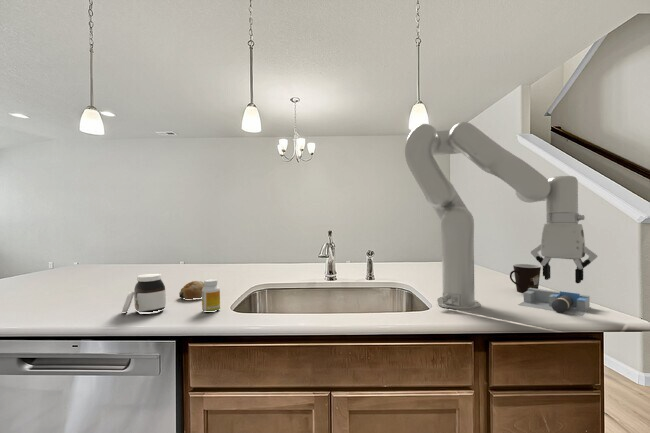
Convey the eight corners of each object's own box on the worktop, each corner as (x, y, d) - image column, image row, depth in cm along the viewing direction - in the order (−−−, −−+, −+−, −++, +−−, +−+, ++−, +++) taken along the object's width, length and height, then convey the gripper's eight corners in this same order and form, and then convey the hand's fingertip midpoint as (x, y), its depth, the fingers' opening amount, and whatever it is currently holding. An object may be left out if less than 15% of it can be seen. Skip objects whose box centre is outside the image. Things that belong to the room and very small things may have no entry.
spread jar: (169, 312, 108) (168, 275, 108) (130, 320, 99) (129, 280, 99) (154, 305, 116) (153, 271, 116) (116, 313, 108) (115, 276, 107)
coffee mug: (533, 290, 128) (533, 264, 128) (546, 296, 120) (545, 267, 119) (501, 290, 129) (500, 264, 129) (511, 296, 121) (510, 267, 121)
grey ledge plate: (582, 317, 95) (581, 300, 95) (517, 306, 107) (517, 291, 107) (591, 309, 103) (590, 293, 103) (530, 299, 115) (530, 285, 115)
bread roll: (198, 311, 121) (207, 290, 121) (172, 299, 121) (181, 278, 121) (208, 304, 131) (217, 285, 131) (184, 292, 131) (192, 273, 131)
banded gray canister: (568, 311, 97) (562, 298, 98) (554, 313, 99) (549, 301, 100) (575, 305, 102) (569, 293, 103) (562, 308, 104) (556, 296, 106)
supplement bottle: (223, 309, 110) (223, 279, 109) (211, 314, 105) (211, 282, 105) (210, 307, 112) (210, 278, 112) (198, 312, 107) (197, 281, 107)
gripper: (602, 219, 95) (603, 283, 95) (532, 218, 108) (532, 275, 108) (597, 219, 90) (597, 287, 90) (524, 219, 103) (524, 278, 103)
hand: (562, 280), depth 99 cm, fingers open, 6 cm apart
